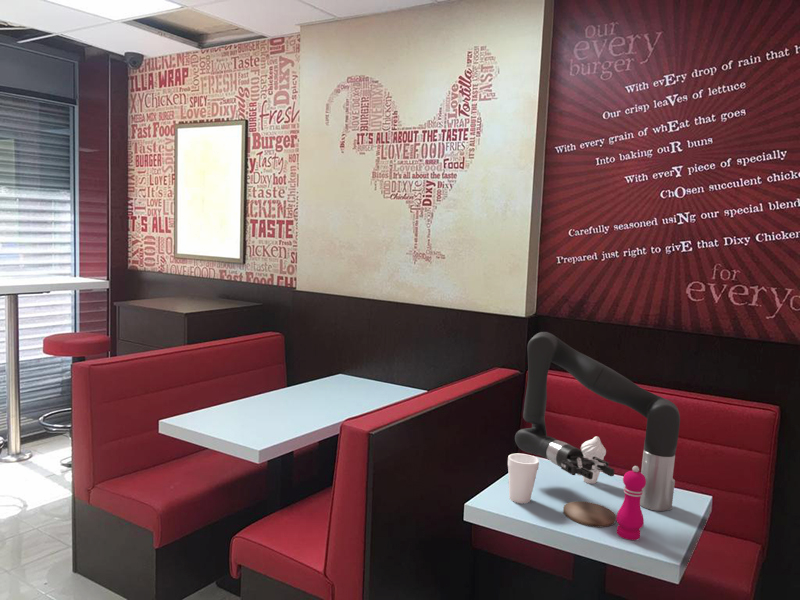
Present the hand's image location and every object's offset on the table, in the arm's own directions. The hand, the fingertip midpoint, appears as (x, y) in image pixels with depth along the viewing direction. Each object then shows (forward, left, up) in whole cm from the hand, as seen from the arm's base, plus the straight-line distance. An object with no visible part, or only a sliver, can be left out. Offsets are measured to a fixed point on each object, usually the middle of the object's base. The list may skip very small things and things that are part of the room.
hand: (602, 474), depth 197 cm
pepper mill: (-5, +10, -14) cm, 18 cm away
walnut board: (+2, -2, -13) cm, 14 cm away
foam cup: (+21, -12, -14) cm, 27 cm away
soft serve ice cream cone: (-8, -30, -14) cm, 34 cm away
